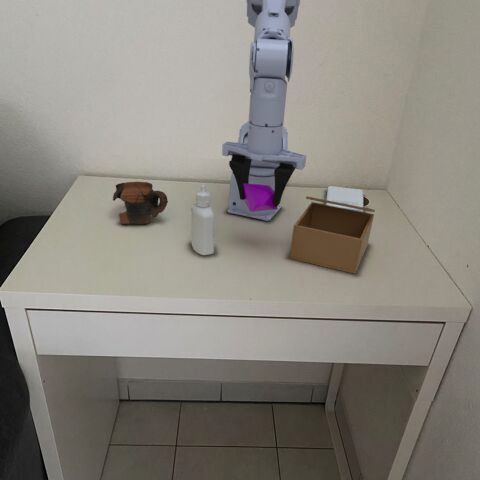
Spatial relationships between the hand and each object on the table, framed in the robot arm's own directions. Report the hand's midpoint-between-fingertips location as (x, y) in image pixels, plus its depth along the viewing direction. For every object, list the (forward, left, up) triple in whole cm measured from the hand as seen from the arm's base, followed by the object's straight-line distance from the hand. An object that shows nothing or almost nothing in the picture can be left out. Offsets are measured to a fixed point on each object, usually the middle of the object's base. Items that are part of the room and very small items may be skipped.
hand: (259, 201), depth 89 cm
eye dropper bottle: (-8, -7, -8) cm, 14 cm away
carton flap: (+14, +6, 0) cm, 15 cm away
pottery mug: (-25, 0, -8) cm, 26 cm away
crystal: (0, 0, -2) cm, 2 cm away
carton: (+14, +3, -8) cm, 16 cm away
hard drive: (+11, +28, -9) cm, 31 cm away
